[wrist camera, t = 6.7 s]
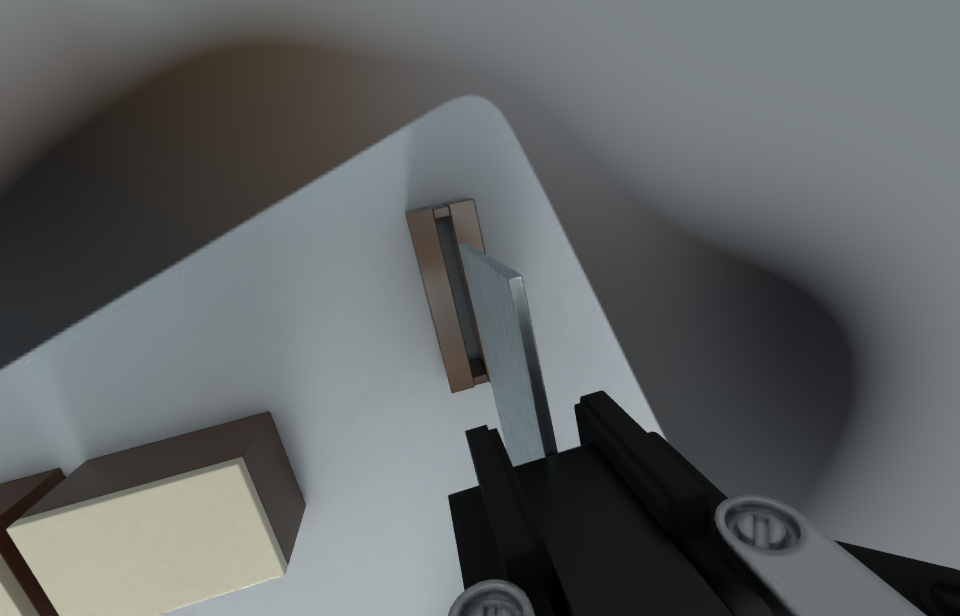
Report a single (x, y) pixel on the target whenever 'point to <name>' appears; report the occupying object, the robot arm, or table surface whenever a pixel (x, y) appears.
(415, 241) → the knife stand
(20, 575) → the cake slice
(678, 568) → the metal dough scraper
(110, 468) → the cake
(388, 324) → the table surface
